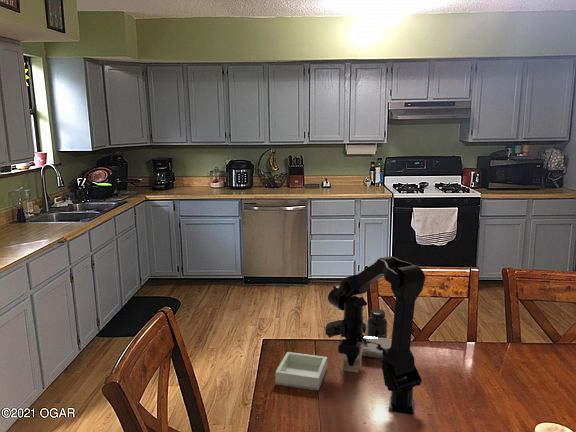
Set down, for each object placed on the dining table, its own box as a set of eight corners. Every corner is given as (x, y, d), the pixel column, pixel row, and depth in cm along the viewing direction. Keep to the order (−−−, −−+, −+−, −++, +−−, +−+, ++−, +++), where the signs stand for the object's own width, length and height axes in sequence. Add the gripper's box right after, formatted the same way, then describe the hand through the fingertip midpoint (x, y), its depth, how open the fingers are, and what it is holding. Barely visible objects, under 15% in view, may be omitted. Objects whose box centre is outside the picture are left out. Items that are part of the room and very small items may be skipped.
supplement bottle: (381, 350, 164) (382, 317, 161) (363, 344, 168) (364, 312, 165) (389, 342, 169) (391, 310, 167) (372, 337, 173) (373, 306, 171)
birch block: (358, 372, 149) (358, 348, 148) (343, 370, 151) (344, 346, 149) (359, 365, 154) (360, 342, 152) (345, 363, 155) (346, 340, 153)
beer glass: (408, 336, 160) (363, 331, 163) (409, 343, 153) (362, 339, 156) (407, 356, 161) (362, 351, 164) (408, 364, 154) (361, 359, 157)
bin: (318, 390, 139) (318, 378, 139) (275, 384, 143) (275, 372, 142) (326, 368, 152) (327, 356, 151) (287, 363, 155) (287, 351, 154)
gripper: (332, 302, 160) (332, 345, 163) (321, 325, 142) (321, 373, 145) (366, 305, 157) (365, 349, 160) (359, 329, 139) (358, 378, 142)
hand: (352, 362), depth 152 cm, fingers closed on birch block, 4 cm apart
